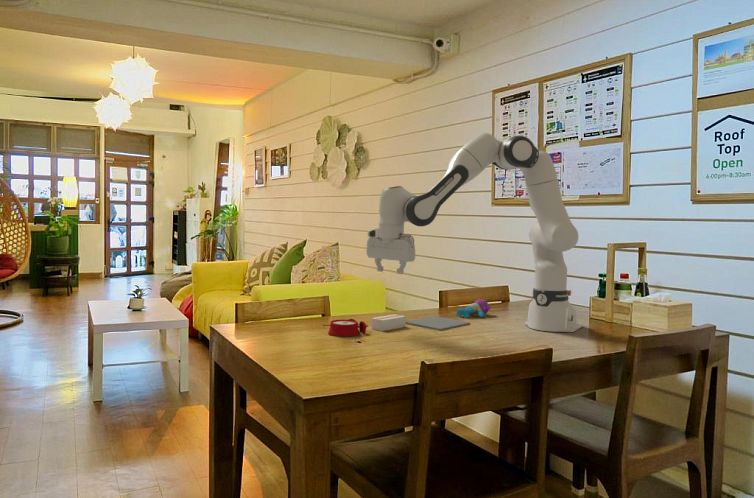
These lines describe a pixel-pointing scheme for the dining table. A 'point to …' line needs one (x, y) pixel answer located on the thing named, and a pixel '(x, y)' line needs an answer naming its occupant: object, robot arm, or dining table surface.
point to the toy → (475, 309)
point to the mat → (437, 323)
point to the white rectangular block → (388, 322)
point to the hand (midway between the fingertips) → (389, 272)
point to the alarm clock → (346, 327)
